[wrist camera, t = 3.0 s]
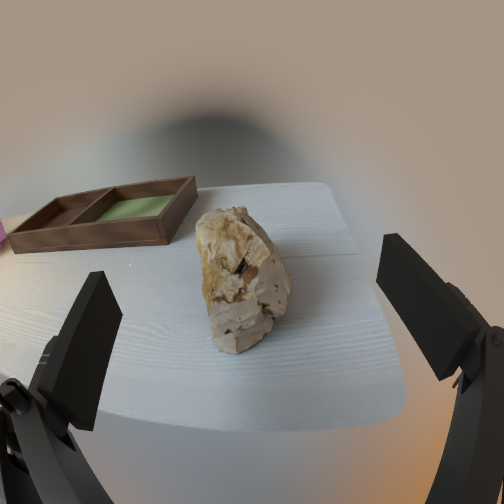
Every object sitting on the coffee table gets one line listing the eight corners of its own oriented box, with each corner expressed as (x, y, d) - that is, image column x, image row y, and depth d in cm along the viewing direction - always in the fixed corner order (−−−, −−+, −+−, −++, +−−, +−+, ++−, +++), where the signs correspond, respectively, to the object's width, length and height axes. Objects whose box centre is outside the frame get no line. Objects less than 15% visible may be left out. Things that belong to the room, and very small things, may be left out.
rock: (308, 348, 19) (277, 200, 17) (215, 366, 19) (169, 227, 17) (289, 287, 31) (268, 193, 28) (229, 300, 31) (203, 209, 29)
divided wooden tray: (198, 196, 50) (194, 175, 48) (168, 244, 36) (161, 217, 34) (61, 213, 53) (56, 197, 51) (14, 254, 39) (6, 235, 37)
